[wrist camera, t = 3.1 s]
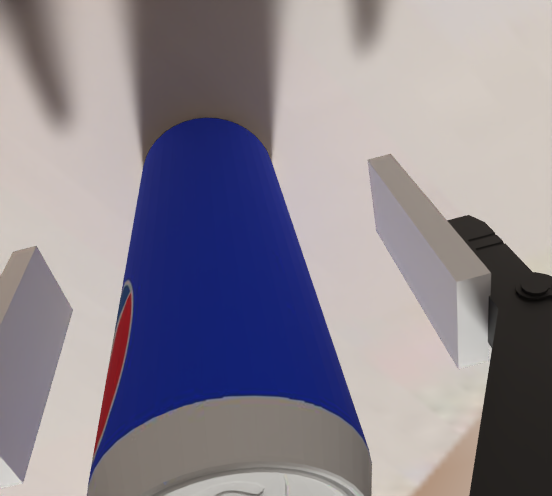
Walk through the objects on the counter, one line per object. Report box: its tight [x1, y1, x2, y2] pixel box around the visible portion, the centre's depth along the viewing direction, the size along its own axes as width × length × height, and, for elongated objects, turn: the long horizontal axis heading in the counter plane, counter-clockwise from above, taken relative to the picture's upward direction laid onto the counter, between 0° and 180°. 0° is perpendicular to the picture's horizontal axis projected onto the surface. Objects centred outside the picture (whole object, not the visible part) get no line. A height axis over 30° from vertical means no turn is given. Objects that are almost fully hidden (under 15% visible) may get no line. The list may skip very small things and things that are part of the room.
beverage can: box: [87, 118, 372, 496], centre depth 15 cm, size 5×5×15 cm
